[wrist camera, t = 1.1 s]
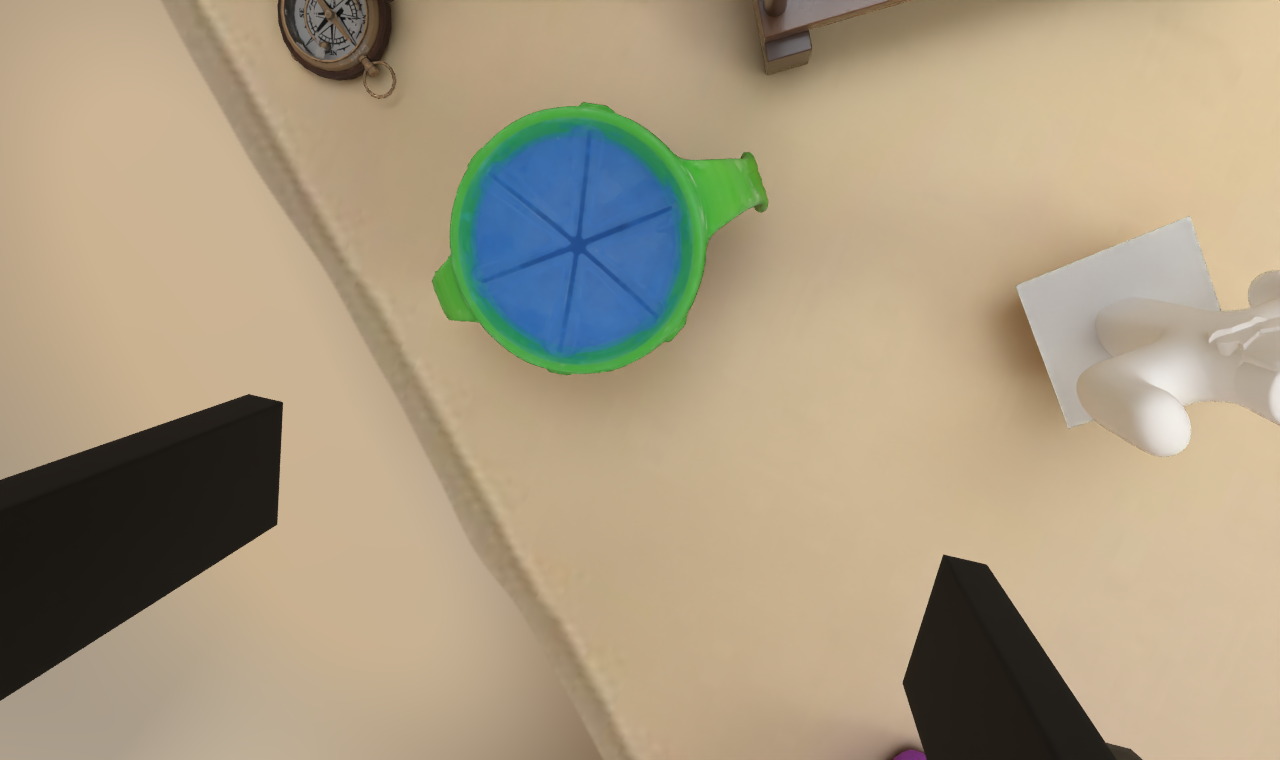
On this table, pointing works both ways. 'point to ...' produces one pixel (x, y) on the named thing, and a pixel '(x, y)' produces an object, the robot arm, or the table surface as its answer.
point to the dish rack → (802, 26)
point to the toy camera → (911, 755)
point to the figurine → (1153, 339)
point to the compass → (337, 36)
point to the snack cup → (585, 237)
